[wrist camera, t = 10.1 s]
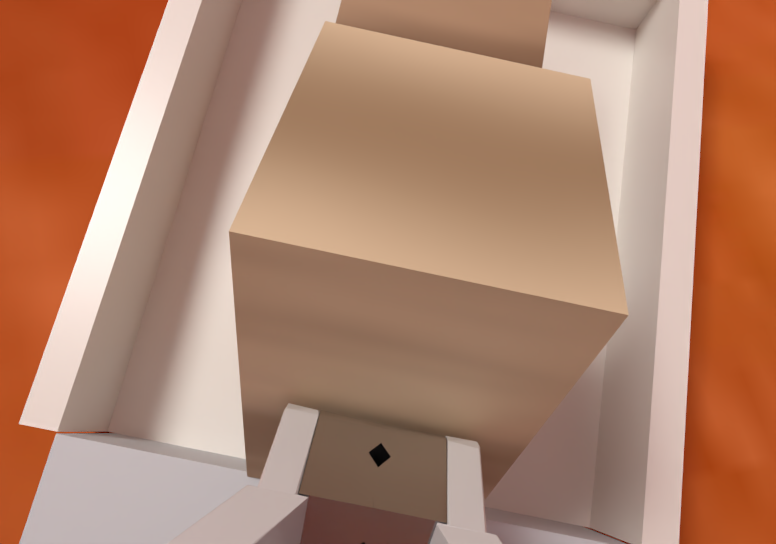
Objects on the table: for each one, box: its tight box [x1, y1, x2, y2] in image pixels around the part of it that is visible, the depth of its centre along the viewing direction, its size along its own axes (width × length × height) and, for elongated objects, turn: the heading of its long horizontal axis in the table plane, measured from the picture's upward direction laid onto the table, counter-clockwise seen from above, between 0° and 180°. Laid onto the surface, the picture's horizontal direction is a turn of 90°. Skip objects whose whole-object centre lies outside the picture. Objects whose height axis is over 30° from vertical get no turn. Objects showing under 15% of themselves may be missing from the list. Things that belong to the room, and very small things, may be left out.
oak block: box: [229, 21, 629, 500], centre depth 11 cm, size 5×4×7 cm
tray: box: [19, 0, 708, 544], centre depth 16 cm, size 16×14×4 cm
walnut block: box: [336, 0, 552, 68], centre depth 15 cm, size 5×4×7 cm
